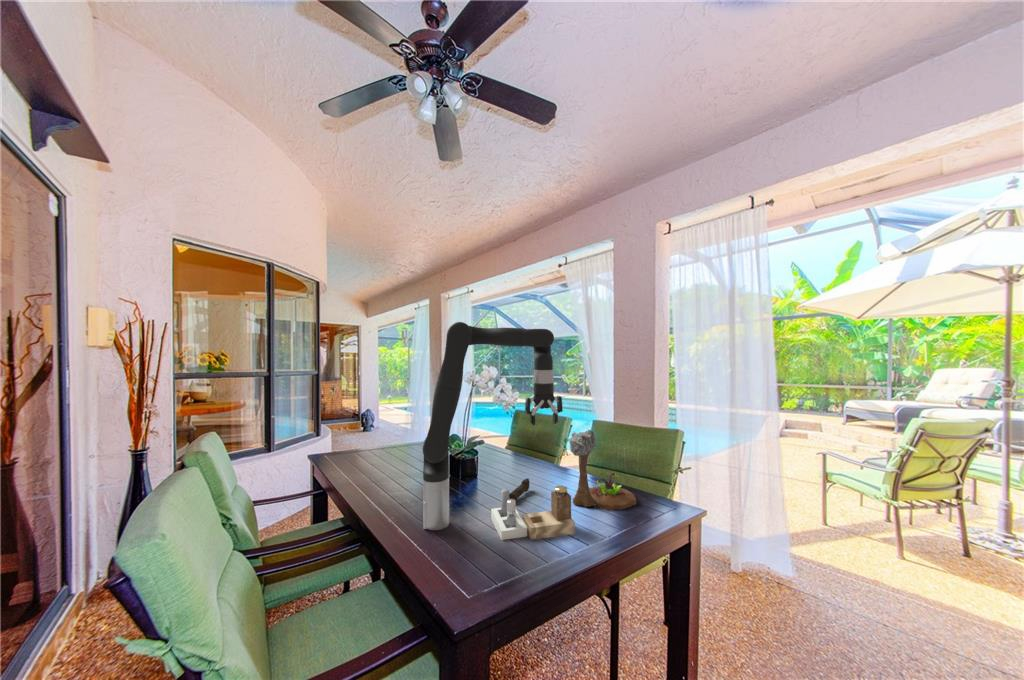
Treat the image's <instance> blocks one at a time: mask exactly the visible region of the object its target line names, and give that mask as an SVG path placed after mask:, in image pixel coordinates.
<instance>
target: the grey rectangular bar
mask: <svg viewBox="0 0 1024 680" xmlns="http://www.w3.org/2000/svg"><path fill="white" fill-rule="evenodd" d="M516 501H517V500H516ZM516 501H515V500H514V499H508V500H507V528H512V527H516V510H517V507H516Z"/></svg>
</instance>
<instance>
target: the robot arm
mask: <svg viewBox="0 0 1024 680" xmlns="http://www.w3.org/2000/svg"><path fill="white" fill-rule="evenodd" d="M446 331H447V332H446V340H445V348H444V349H445V350H444V357H443V360H442V363H441V367H440V369H439V372H438V376H437V380H436V385H435V388H434V393H433V398H432V399H433V400H432V408H431V418H430V420H431V421H430V425H429V427H428V428H429V429H428V431H427V434H426V435H427V436H426V437H425V438H424V440H423V441H424V442H423V445H422V454H423V469H422V470H423V471H422V480H423V481H422V482H423V483H422V485H423V486H422V487H423V489H422V490H423V493H422V494H423V496H422V497H423V498H422V506H423V508H422V509H423V511H422V513H423V517H422V518H423V520H422V521H423V523H422V524H423V530H424V529H426V530H427V529H429V530H428V531H439V530H440V531H441V530H443V529H445V528H448V526H449V525H450V478H449V477H450V463H449V461H450V457H449V455H450V453H449V452H450V449H449V445H450V434H451V429H452V423H453V421H454V418H455V414H456V410H457V407H458V404H459V400H460V397H461V392H462V387H463V377H464V363H465V358H466V355H467V351H468V349H469V346H474V345H489V346H490V345H493V346H503V347H521V348H522V347H532V348H533V354H534V361H533V362H534V363H533V365H534V371H533V397H528V396H526V397H525V405H524V406H525V407H524V413H525V414H527V415H529V423H530V424H531V425H532V426H536V415H535V414H536V413H537V412H538V411H539V410H543V409H550V410H551V411H552V412H553V413H552V424H554V425H556V424H557V423H558V421H559V413H562V412H563V410H564V409H563V399H562V398H563V397H562V396H560V395H556V396H554V394H555V391H554V390H555V389H554V388H555V386H554V385H555V384H554V382H555V381H554V380H555V378H554V366H553V365H554V363H553V362H554V359H553V355H552V353H551V352H552V351H551V350H552V349H551V346H552V345H553V343H554V341H555V336H554V333H553V332H552V331H551V330H550V329H548V328H547V329H546V328H523V327H522V328H520V327H490V328H489V327H477V326H472V325H469V324H467V323H465V322H463V321H456V322H454V323H452V324H451V325H450V326H449V327H448V329H447V330H446ZM554 402H556V407H555V405H554ZM532 403H534V404H533V406H532V407H531V405H532Z"/></svg>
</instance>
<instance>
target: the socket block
mask: <svg viewBox="0 0 1024 680" xmlns="http://www.w3.org/2000/svg"><path fill="white" fill-rule="evenodd" d="M550 495H551V496H550V499H551V501H550V502H551V503H550V504H551V505H550V507H551V508H550V510H546V511H545V510H543V511H538V512H530V513H524V514H522V517H521V518H522V520H523V522H524V523H525V525H526V527H527V537H528V538H529V539H530V540H531V541H533V540H539V539H546V538H553V537H559V536H569V535H575V534H576V526H575V525H576V524H575V523H576V522H575V520H574V519H573V518H572V495H570V493H569V492H568V491H567V492H566V493H565V496H558V495H557V492H555V490H553V491H550Z"/></svg>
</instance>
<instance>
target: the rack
mask: <svg viewBox="0 0 1024 680" xmlns="http://www.w3.org/2000/svg"><path fill="white" fill-rule="evenodd" d="M500 493H501V494H500V497H501V498H500V500H501V501H500V504H501V507H495V508H491V511H490V512H491V514H490V515H491V516H490V517H491V521H492V523H493V525H494V527H495V529H496V531H497V533H498V535H499V537H500V540H502V541H504V540H511V539H520V538H525V537H528V535H527V527H526V525H525V523H524V522H523V520H522V517H521V515H520V513H519V512H518V510H517V509H516V527H512V528H507V500H508V499H509V493H510V489H508V488H503V489H501V490H500Z"/></svg>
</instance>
